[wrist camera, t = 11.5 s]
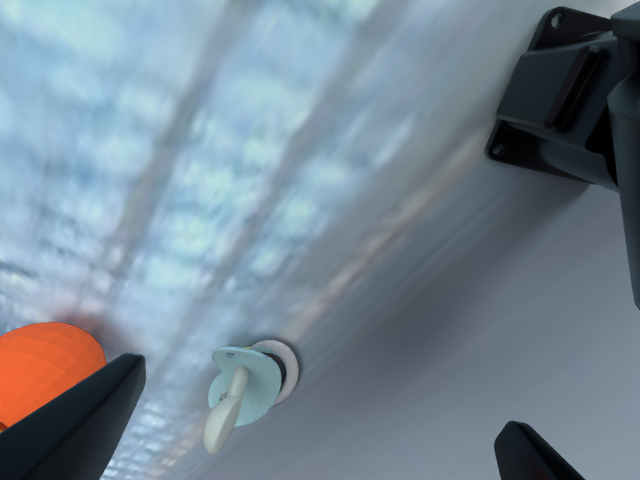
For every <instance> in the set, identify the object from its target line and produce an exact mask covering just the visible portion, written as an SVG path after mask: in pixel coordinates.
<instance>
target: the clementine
mask: <svg viewBox="0 0 640 480" xmlns="http://www.w3.org/2000/svg"><path fill="white" fill-rule="evenodd" d="M105 365H107V364H106V359H105V354H104V351H103V349H102V347H101V345H100V344H99V343H98V342H97V340H96V339H95V338H94V337H93V336H91V335H90V334H89V333H87V332H86V331H84V330H82V329H80V328H78V327H76V326H73V325H69V324H66V323H58V322H48V323H37V324H30V325H27V326H24V327H21V328H18V329H15V330H13V331H10V332H8V333H6V334H4V335H2V336H1V337H0V433H1V432H2V431H4V430H5V429H7V428H9V427H10V426H12V425H13V424H15V423H16V422H18V421H20V420H21V419H23V418H24V417H26V416H27V415H29V414H30V413H32V412H34V411H35V410H37V409H38V408H40V407H41V406H43V405H44V404H46V403H48V402H49V401H51V400H52V399H54V398H55V397H57V396H59V395H60V394H62V393H63V392H65V391H66V390H68V389H69V388H71V387H73V386H74V385H76V384H77V383H79V382H80V381H82V380H83V379H85V378H87V377H88V376H90V375H91V374H93V373H94V372H96V371H97V370H99V369H101V368H102V367H104V366H105Z"/></svg>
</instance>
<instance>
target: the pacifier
mask: <svg viewBox="0 0 640 480" xmlns="http://www.w3.org/2000/svg"><path fill="white" fill-rule="evenodd" d="M228 353H234V354H235V355H230V354H228ZM262 353H272V354H275V355H277V356H278V357H279V358H281V360H282V361H283V362H284V364H285V367H286V371H287V376H286V378H285V381H284V382H283V384H282V385H281V370H280V368H279V366H278V364H277V363H276V362H275V361H274V360H273V359H271V358H270V357H268V356H266V355H264V354H262ZM212 358H213V361H214V363H215V364H216V366H217V367H218V368H219V369H220V370H221V372H220V373H219V374H218V375H217V376H216V378H215V379H214V381H213V383H212V385H211V387H210V390H209V397H208V400H209V406H210V409H211V412H210V414H209V415H208V417H207V419H206V422H205V424H204V428H203V443H204V446H205V448H206V450H207V451H208V452H209V453H211V454H213V455H215V454H217V453H218V452H219V451H220V450H221V448H222V447H223V446H224V444H225V442H226V441H227V439H228V437H229V436H230V434H231V432H232V430H233V427H241V426H245V425H248V424H250V423H253V422H255V421H257V420H259V419H260V418H261V417H262V416H264V415H265V413H266V412H267V411H268V410H269V409H270V407H271V406H272V405H273V404H277V403H279V402H281V401H283V400H284V399H285V398H286V397H288V396H289V395H290V393H291V392H292V390H293V389H294V387H295V385H296V382H297V380H298V373H299V369H298V362H297V359H296V357H295V354H294V353H293V352H292V350H291V349H290V348H289V347H288V346H287V345H285V344H284V343H282V342H279V341H276V340H264V341H261V342H258V343H256V344H254V345H253V346H251V347H244V348H239V347H219V348H217V349H216V350H215V351H214V353H213V355H212ZM224 393H227V394H226V397H225V399H223V400H222V399H221V395H222V394H224Z"/></svg>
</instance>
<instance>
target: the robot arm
mask: <svg viewBox="0 0 640 480" xmlns="http://www.w3.org/2000/svg"><path fill="white" fill-rule="evenodd" d="M555 15H556V16H557V17H558V24H557V25H556V27H553V26H552V24H551V21H552V18H553V17H554V16H555ZM497 116H498V120H497V122H496V124H495V127H494V129H493V131H492V133H491V136H490V138H489V140H488V143H487V145H486V148H485V154H486V156H487V157H488V158H490V159H492V160H495V161H499V162H503V163H507V164H512V165H516V166H520V167H524V168H528V169H533V170H537V171H541V172H545V173H549V174H554V175H558V176H562V177H566V178H570V179H575V180H579V181H583V182H587V183H591V184H597V185H600V186H603V187H605V188H608V189H610V190H613V191H615V192H618V193H619V194H620V202H621V209H622V217H623V224H624V232H625V239H626V247H627V255H628V262H629V270H630V277H631V285H632V290H633V296H634V301H635V305H636V306H637V308H638V309H639V310H640V1H639V2H637V3H635V4H633V5H631V6H629V7H627V8H625V9H623V10H621V11H619V12H617V13H615V14H613V15H612V16H611V20H610V19H607V18H603V17H600V16H596V15H592V14H589V13H585V12H582V11H578V10H574V9H571V8H567V7H556V8H553V9H551V10H549V11H547V12H546V13H545V14H544V16H543V17H542V19H541V21H540V23H539V25H538V28H537V30H536V32H535V35H534V37H533V39H532V42H531V44H530V46H529V48H528V51H527V53H525V54H524V55H522V56H521V57H520V59H519V61H518V64H517V66H516V68H515V71H514V73H513V75H512V78H511V80H510V82H509V85H508V87H507V89H506V92H505V94H504V96H503V99H502V101H501V103H500V106H499V108H498V110H497ZM498 145H500V151H499V152H498V153H496V154H494V153H493V151H494V148H495V147H496V146H498ZM145 382H146V369H145V358H144V356H143V355H139V354H133V353H125V354H123V355H121V356H119V357H118V358H116V359H115V360H113V361H112V362H110V363H108V364H107V365H105V366H104V367H102V368H101V369H99V370H97V371H96V372H94V373H93V374H91V375H90V376H88V377H87V378H85V379H83V380H82V381H80V382H79V383H77V384H76V385H74V386H73V387H71V388H69V389H68V390H66V391H65V392H63V393H62V394H60V395H59V396H57V397H55V398H54V399H52V400H51V401H49V402H48V403H46V404H44V405H43V406H41V407H40V408H38V409H37V410H35V411H34V412H32V413H30V414H29V415H27V416H26V417H24V418H23V419H21V420H20V421H18V422H16V423H15V424H13V425H12V426H10V427H9V428H7V429H5V430H4V431H2V432H1V433H0V480H99V479H100V477H101V476H102V474H103V472H104V470H105V469H106V467H107V465H108V463H109V461H110V460H111V458H112V456H113V454H114V451H115V449H116V447H117V445H118V443H119V441H120V439H121V437H122V434H123V432H124V430H125V428H126V426H127V424H128V421H129V419H130V417H131V415H132V413H133V411H134V408H135V406H136V404H137V402H138V400H139V398H140V396H141V393H142V391H143V389H144V386H145ZM494 450H495V455H496V459H497V464H498V468H499V473H500V477H501V480H585V479H584V478H583V477H582V476H581V475H580V474H579V473H578V472H577V471H576V470H575V469H574V468H573V467H572V466H571V465H570V464H569V463H568V462H567V461H566V460H565V459H564V458H563V457H562V456H561V455H559V454H558V453H557V452H556V451H555V450H554V449H553V448H552V447H551V446H550V445H549V444H548V443H547V442H546V441H545V440H544V439H543V438H542V437H541V436H540V435H539V434H538V433H537V432H536V431H535V430H534V429H533V428H532V427H531V426H529V425H528V424H526V423H522V422H517V421H509V422H508V423H507V424H506V425H505V427H504V428H503V429H502V431H501V432H500V434H499V435H498V436H497V438H496V439H495V443H494Z"/></svg>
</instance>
